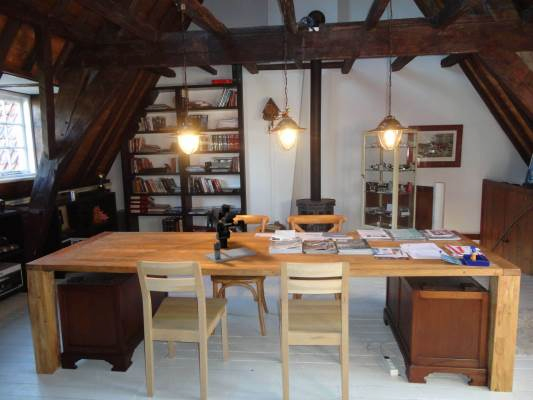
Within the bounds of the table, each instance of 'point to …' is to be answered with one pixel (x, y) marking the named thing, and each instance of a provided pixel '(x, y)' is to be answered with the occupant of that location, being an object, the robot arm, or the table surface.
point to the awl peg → (217, 250)
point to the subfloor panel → (231, 254)
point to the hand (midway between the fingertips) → (234, 231)
